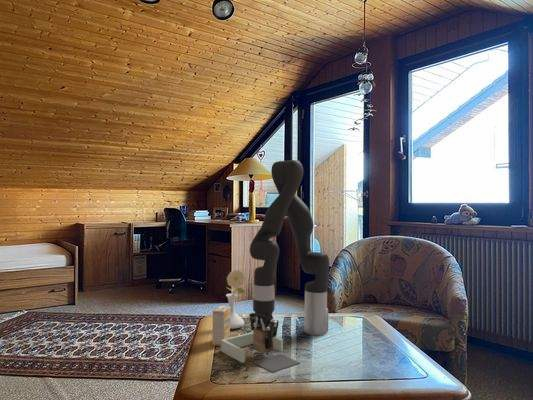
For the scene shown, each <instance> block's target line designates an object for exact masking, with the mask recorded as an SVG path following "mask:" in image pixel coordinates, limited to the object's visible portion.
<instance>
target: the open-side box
mask: <svg viewBox="0 0 533 400" xmlns="http://www.w3.org/2000/svg"><path fill="white" fill-rule="evenodd" d="M250 345H253V332H252V331H251V332H248V333H244V334H240V335H236V336H230V338H227V339H223V340H221V346H220V352H221V353H224V354H226V355H227V356H229V357H231V358H232V359H234V360H236V361H238V362H240V363H242V364H243V363H246V350H245V349H244V348H242V347H246V346H250ZM273 350H277V351H278V352H283V351H284V340H283V339H282V338H279V337H277V336H276V337H274V339H273Z"/></svg>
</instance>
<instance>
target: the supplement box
mask: <svg viewBox="0 0 533 400" xmlns="http://www.w3.org/2000/svg"><path fill="white" fill-rule="evenodd" d="M211 334H212V339H211V340H212V341H211V342H212V343H211V345H212V346H214V347H215V346H217V347H221V340H223V339H227V338H231V329H230V306H229V305H228V306H227V305H218V307H216V308H215V309H214V310H212V332H211Z"/></svg>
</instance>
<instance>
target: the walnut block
mask: <svg viewBox="0 0 533 400" xmlns="http://www.w3.org/2000/svg"><path fill="white" fill-rule="evenodd" d="M268 328H269V327H266V329H268ZM268 334H269V331H268ZM265 338H266V337H265V332H264V331H263V328H258V329H253V344H252V345H253V346H252V348H253V349H252V350H255V351H257V352H258V353H260V354H264V353H269V352H272V351H274V348H273V339H274V337H273V338H272V347H271V348H270V349H266V348H265Z"/></svg>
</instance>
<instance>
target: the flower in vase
mask: <svg viewBox="0 0 533 400" xmlns="http://www.w3.org/2000/svg"><path fill="white" fill-rule="evenodd" d="M246 279H247V278H246V275H245V272H244V271H242V270H240V269H236V270H235V269H234V270H232V271H230V272H229V273H228V275H227V276H226V282H227V285H228V286H230V287H232V288H234V289H235V290H234V291H233V290H232V289H231V288H229V287H227V289H228V290H229V291H232V292H233V293H227V294H225V297H226V298H227V301H228V306H230V330H234V329H238V328H241V327H243V326H244V325H245V321H244V319H243V318H242V317H241V316H240V315H238V314H237V313H236V312H235V301H236V298H237V297H238V294H244V293H246V291H245V289H244V288H243V287H242V286H243V284H244V282H245V281H246ZM236 292H237V293H238V294H237V293H236Z"/></svg>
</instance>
